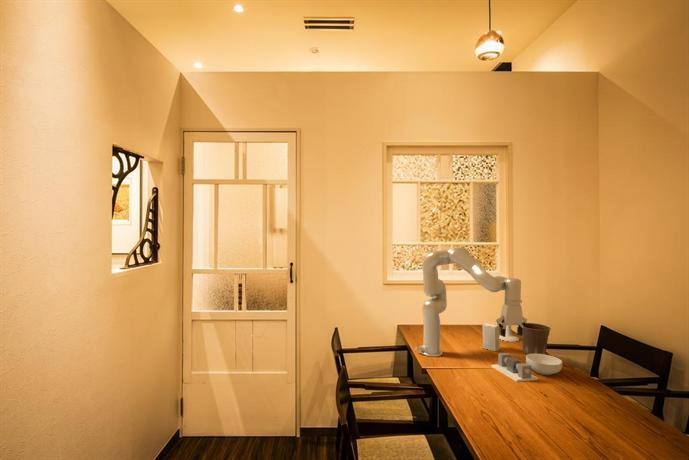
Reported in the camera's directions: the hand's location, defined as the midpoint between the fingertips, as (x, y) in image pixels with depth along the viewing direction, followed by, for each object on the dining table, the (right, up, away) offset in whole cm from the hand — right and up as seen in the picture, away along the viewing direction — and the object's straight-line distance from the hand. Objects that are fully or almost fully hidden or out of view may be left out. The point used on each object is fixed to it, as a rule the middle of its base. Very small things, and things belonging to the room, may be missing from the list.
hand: (511, 335), depth 198 cm
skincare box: (+3, -18, +36) cm, 41 cm away
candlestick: (+23, -18, +57) cm, 64 cm away
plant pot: (+26, -19, +29) cm, 44 cm away
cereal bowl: (+17, -19, 0) cm, 25 cm away
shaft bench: (+1, -19, -1) cm, 19 cm away
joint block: (+1, -18, -1) cm, 18 cm away
